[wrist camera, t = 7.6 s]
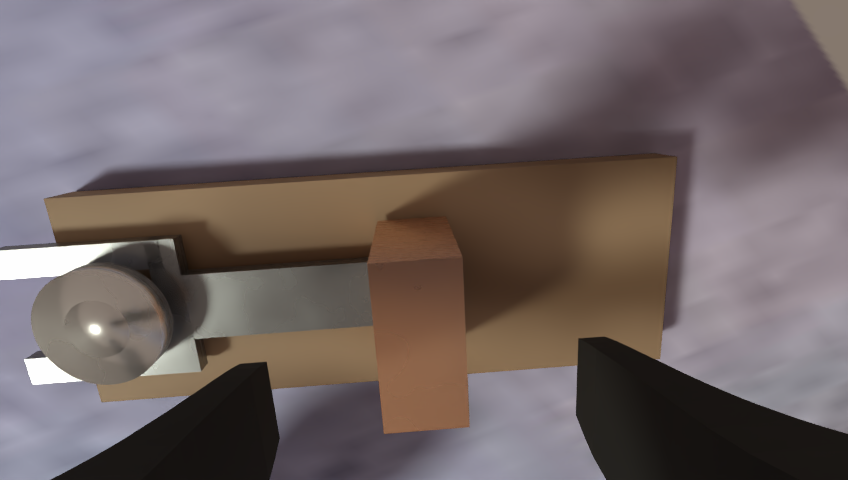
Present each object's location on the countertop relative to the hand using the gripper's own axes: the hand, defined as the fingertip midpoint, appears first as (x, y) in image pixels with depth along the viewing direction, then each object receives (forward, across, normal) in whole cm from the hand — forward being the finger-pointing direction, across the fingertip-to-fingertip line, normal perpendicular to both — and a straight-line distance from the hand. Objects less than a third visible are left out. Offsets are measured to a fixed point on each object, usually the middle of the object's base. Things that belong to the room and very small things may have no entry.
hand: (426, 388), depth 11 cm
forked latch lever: (+6, +6, 0) cm, 9 cm away
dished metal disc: (+7, +10, 0) cm, 12 cm away
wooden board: (+8, +2, 0) cm, 8 cm away
